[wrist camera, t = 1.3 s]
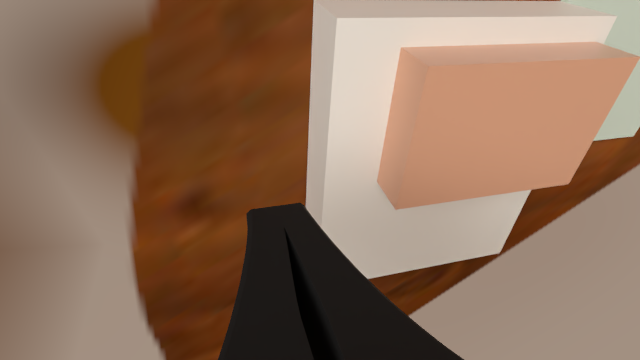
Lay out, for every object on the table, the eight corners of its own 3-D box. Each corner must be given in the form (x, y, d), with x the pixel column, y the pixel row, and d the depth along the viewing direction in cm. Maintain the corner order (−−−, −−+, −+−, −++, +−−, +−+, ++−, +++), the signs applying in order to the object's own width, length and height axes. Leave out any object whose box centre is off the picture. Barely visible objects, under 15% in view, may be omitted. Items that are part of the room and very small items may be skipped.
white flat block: (471, 221, 25) (499, 253, 23) (304, 249, 22) (316, 288, 20) (560, 1, 17) (617, 15, 15) (313, -1, 14) (337, 18, 12)
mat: (627, 133, 24) (633, 136, 24) (501, 147, 22) (506, 150, 22) (767, -91, 17) (777, -91, 17) (603, -107, 15) (612, -108, 14)
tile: (537, 161, 19) (568, 184, 17) (376, 181, 17) (395, 209, 15) (595, 41, 15) (640, 56, 14) (400, 47, 13) (428, 66, 12)
